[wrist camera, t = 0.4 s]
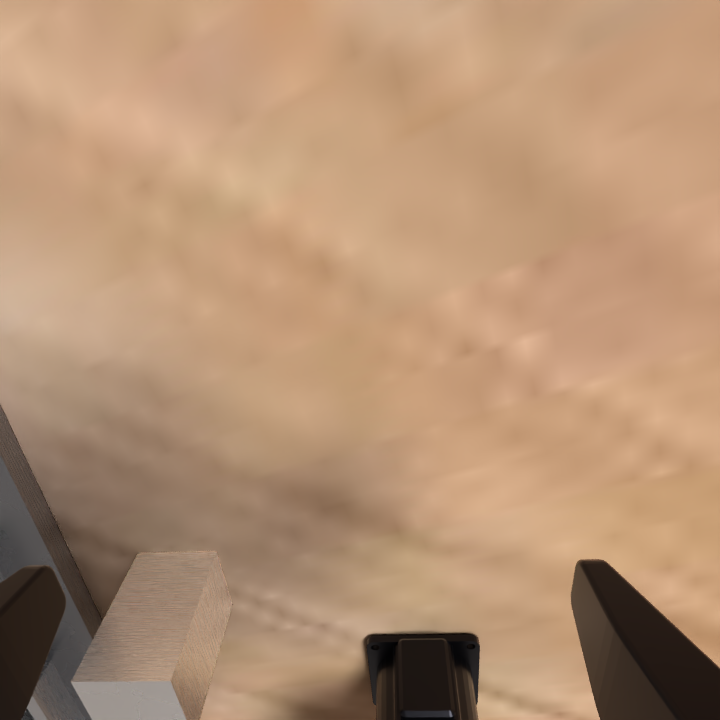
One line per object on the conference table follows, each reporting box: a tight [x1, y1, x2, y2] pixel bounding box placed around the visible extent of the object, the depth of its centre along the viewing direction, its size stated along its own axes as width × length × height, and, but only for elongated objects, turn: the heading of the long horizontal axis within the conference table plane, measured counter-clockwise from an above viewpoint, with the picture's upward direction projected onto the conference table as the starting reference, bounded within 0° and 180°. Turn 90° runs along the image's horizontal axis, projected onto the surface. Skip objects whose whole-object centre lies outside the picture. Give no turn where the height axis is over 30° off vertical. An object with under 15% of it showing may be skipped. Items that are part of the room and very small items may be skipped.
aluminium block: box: [71, 551, 233, 720], centre depth 27 cm, size 4×4×7 cm
